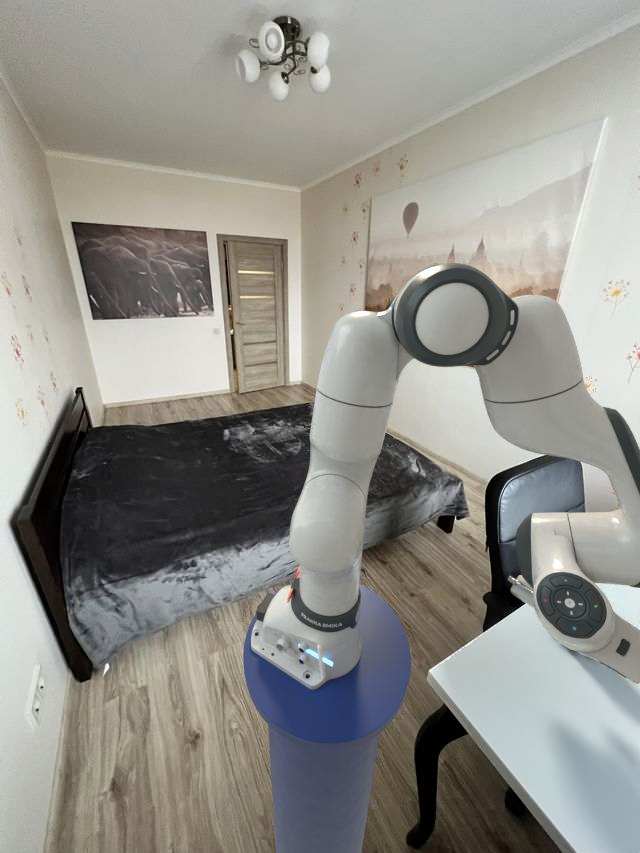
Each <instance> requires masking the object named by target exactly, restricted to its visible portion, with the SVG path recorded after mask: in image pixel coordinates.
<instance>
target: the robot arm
mask: <svg viewBox="0 0 640 853" xmlns="http://www.w3.org/2000/svg"><path fill="white" fill-rule="evenodd" d="M580 358H581V357H580V354H579V349H578V346H577V343H576V340H575V336H574V334H573V331H572V328H571V326H570V323H569V321H568V318H567V315H566V313H565V311H564V309H563V307H562V306H561V304H560V303H559V302H558V301H557V300H556V299H553V297H550V296H547V295H542V294H541V295H540V294H526V295H525V294H523V295H519V296H514V297H510V296H509V295H508V294H507V293H505V291H504V290H502V289H501V288H500V286H499V285H497V284H496V283H495V281H494V280H493V279H491V277H490V276H488V275H487V274H486V273H484V272H483V271H482V270H480V269H478V268H476V267H474V266H472V265H469V264H466V263H461V262H460V263H459V262H449V263H437V264H432V265H429V266H427V267H425V268H423V269H421V270H419V271H417V272H416V273H415V274H413V275H412V276H411V277H409V279H408V280H407V281H406V282H405V283H404V284H403V286H402V287H401V288H400V289H399V291H398V292H397V293H396V294H395V295H394V297H393V298H392V299H391V301H390V302H389V303H388V304H387V305H386V307H385V308H384V309H383V311H370V310H358V311H353V312H349V313H347V314H345V315H343V316H341V317H340V318H339V319H338V320H337V321H335V324H334V325H333V328H332V330H331V332H330V335H329V337H328V340H327V344H326V347H325V350H324V353H323V356H322V361H321V364H320V369H319V373H318V377H317V385H316V390H315V398H314V404H313V410H312V417H311V424H310V429H309V430H310V431H309V441H310V454H309V455H310V456H309V465H308V471H307V474H306V478H305V481H304V484H303V487H302V490H301V492H300V495H299V497H298V499H297V502H296V505H295V508H294V510H293V512H292V514H291V518H290V519H291V520H290V525H289V534H288V549H289V553H290V555H291V557H292V558H293V560H294V561H295V563H296V564H298V568H297V571H296V572H295V577H296V578H294V579H293V581H292V582H291V583H292V585H289V584H286V585H285V586H283V587H281V588H282V589H281V588H280V589H278V590H279V591H278V590H277V591H278V593H277V594H276V595H274V593H271V592H267V593H266V594H265V596H264V598H263V600H262V601H261V602H260V604H258V605H257V607H256V610H255V614H256V618H257V621H256V623H255V625H254V628H253V631H252V636H251V649H252V650H253V651H254V652H255V653H256V654H258V655H259V656H261V657H262V658H264V659H265V660H267V661H268V662H270V663H271V664H273V665H274V666H276V667H277V668H279V669H280V670H282V671H283V672H285V673H286V674H288V675H289V676H291V677H292V678H294V679H295V680H297V681H298V682H300V683H301V684H303V685H304V686H306V687H307V688H309V689H311V690H315V689H317V688H319V687H320V686H322V685H323V684H324V683H325V682H326V681H328V680H331V679H334V678H338V677H341V676H343V675H345V674H347V673H348V672H349V671H351V670H352V669H353V668H354V667H355V665H356V664H357V663H358V661H359V659H360V656H361V653H362V637H361V634H360V631H359V626H358V620H359V616H360V608H361V591H360V587H359V584H360V583H361V571H362V560H363V548H364V539H365V538H364V537H365V527H366V515H367V504H368V496H369V488H370V484H371V480H372V477H373V474H374V469H375V466H376V464H377V461H378V458H379V456H380V454H381V452H382V448H383V445H384V440H385V436H386V432H387V428H388V424H389V421H390V416H391V413H392V408H393V405H394V400H395V396H396V391H397V387H398V383H399V380H400V377H401V376H402V373H403V372H404V370H405V368H406V367H407V365H408V364H409V363H410V362H412V361H413V360H416V361H418V362H420V363H422V364H424V365H426V366H427V365H428V366H431V367H438V368H454V367H473V368H474V370H475V371H476V375H477V377H478V381H479V385H480V386H479V387H480V391H481V396H482V399H483V404H484V407H485V411H486V414H487V417H488V419H489V422H490V424H491V426H492V428H493V430H494V431H495V432H496V433H497V435H499V436H500V437H501V438H502V439H503V440H504V441H506V442H507V443H509V444H511V445H513V446H515V447H517V448H519V449H522V450H524V451H526V452H530V453H534V454H537V455H538V454H539V455H543V456H551V457H558V458H561V459H562V458H563V459H569V460H573V461H577V462H580V463H582V464H583V463H584V464H586V465H590V466H593V467H595V468H597V469H599V470H601V471H602V472H604V473H605V474H606V476H607V477H608V480H609V482H610V485H611V487H612V490H613V492H614V494H615V497H616V499H617V502H618V504H619V506H620V508H618V509H616V510H613V511H603V512H602V511H600V512H599V511H596V512H592V511H591V512H590V511H589V512H567V511H556V512H555V511H554V512H531V513H530V514H528V515H527V516H526V517H525V518H524V519H523V520H522V522H521V523H520V524H519V526H518V527H517V529H516V533H515V551H516V559H517V565H518V569H519V571H520V574H519V575H518V576H517V577H516V578H515V577H513V576H512V575H509V576H507V581H508V582H509V583H510V584H512V586H511V587H510V589H509V590H510V593H511V594H512V595H513V596H514V597H515V598H517V599H518V600H520V601H522V602H523V603H525V604H526V605H528V606H529V607H530V608H532V609H533V610H534V612H535V615H536V617H537V619H538V620H539V622H540V624H541V625H542V627H543V628H544V629H545V630H546V631H547V633H548V634H549V635H550V636H551V637H552V638H554V639H555V640H556V641H557V642H558V643H559V644H561V645H562V646H564V647H565V648H567V649H569V650H572V651H574V652H577V653H578V654H579V655H582V656H584V657H586V658H590V659H592V660H594V661H596V662H598V663H600V665H603V666H605V667H607V668H608V669H610V670H612V671H614V672H615V673H617V674H618V675H620V676H621V677H623V678H624V679H626V680H627V679H628V680H629V681H630V682H631V683H634V684H637V685H639V684H640V629H638V628H637V627H636V626H634V625H633V624H631V623H629V621H627V620H625V619H624V618H622V617H621V616H620V615H618V613H616V611H614V608H613V606H612V604H611V602H610V600H609V598H608V597H607V595H606V593H604V591H603V590H602V589H601V588H600V587H599V585H597V584H603V585H604V584H605V585H615V586H629V587H631V588H637V589H640V447H639V444H638V442H637V439H636V437H635V435H634V432H633V431H632V429H631V427H630V425H629V424H628V423H627V421H626V419H625V418H624V416H622V413H620V412H619V411H618V410H617V409H614V408H610V407H606V406H602V405H601V404H599V402H597V401H596V400H595V399H594V398H593V397H592V396H591V394H590V392H589V391H588V389H587V387H586V384H585V380H584V373H583V368H582V362H581V359H580ZM360 585H361V584H360ZM256 634H258V636H255V635H256ZM307 676H309V677H310V678H309V679H307V678H306V677H307Z"/></svg>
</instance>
